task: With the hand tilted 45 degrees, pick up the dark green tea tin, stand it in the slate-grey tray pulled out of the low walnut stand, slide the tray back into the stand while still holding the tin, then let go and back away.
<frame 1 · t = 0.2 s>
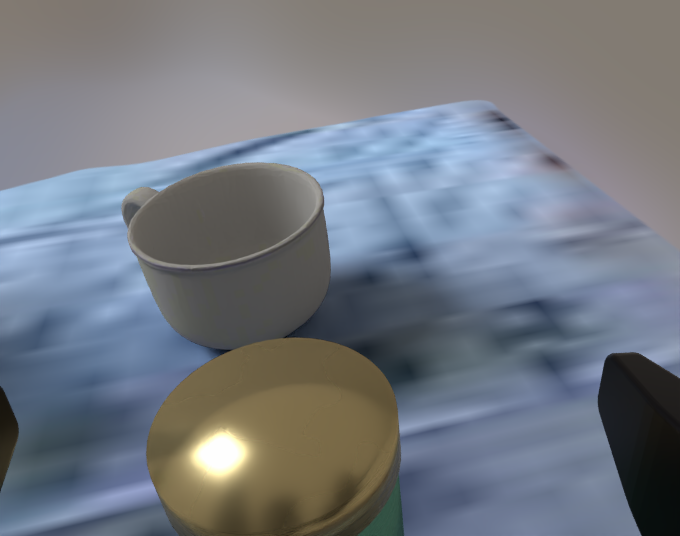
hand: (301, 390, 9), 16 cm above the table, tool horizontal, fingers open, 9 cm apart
teacup: (236, 312, 39), on the table
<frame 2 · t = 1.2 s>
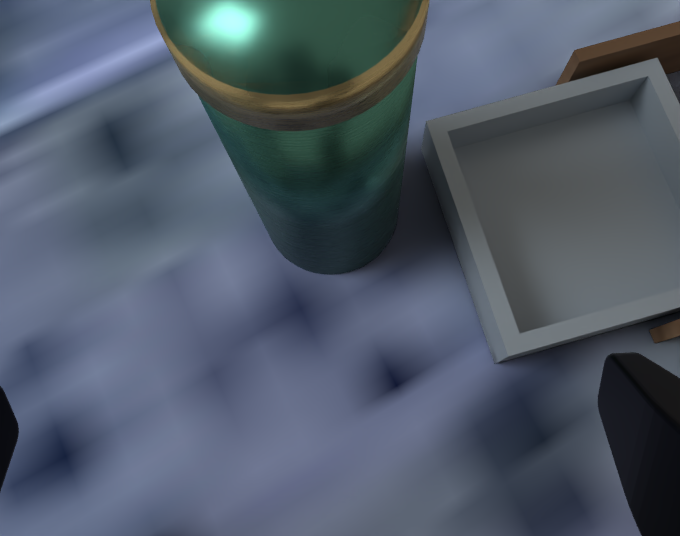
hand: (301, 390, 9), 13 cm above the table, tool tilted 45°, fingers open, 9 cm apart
tea tin: (331, 210, 24), on the table
tray: (576, 209, 23), point 1 cm above the table, slide at 6.0 cm
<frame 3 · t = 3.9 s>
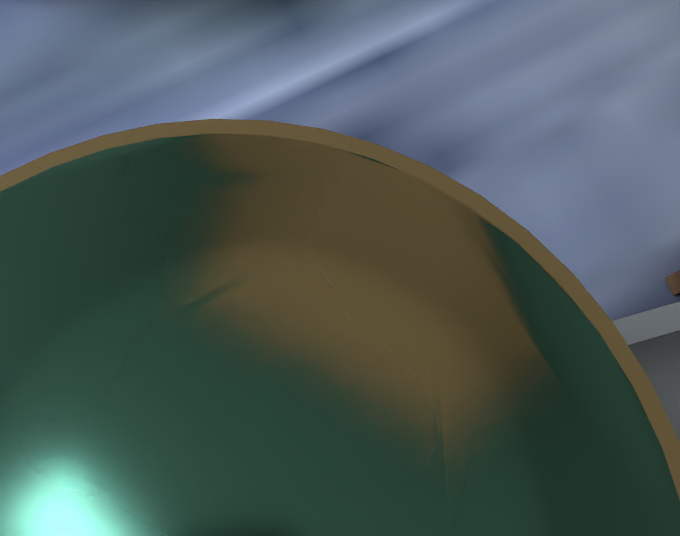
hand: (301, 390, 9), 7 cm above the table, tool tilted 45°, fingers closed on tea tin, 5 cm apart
tea tin: (331, 465, 16), on the table, touching gripper
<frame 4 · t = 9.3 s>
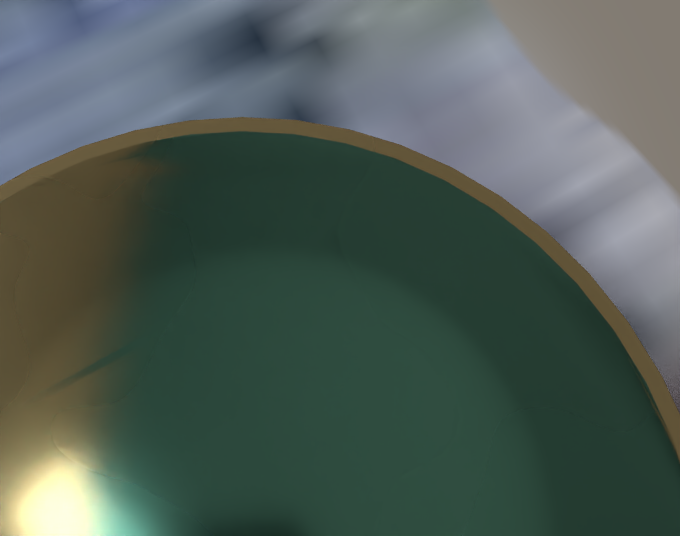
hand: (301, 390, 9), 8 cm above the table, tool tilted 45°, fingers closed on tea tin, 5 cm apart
tea tin: (324, 467, 16), point 1 cm above the table, touching gripper, tray
when the fingers open (8 cm above the table, at t = 10.3 s): tea tin stays where it is, resting on tray.
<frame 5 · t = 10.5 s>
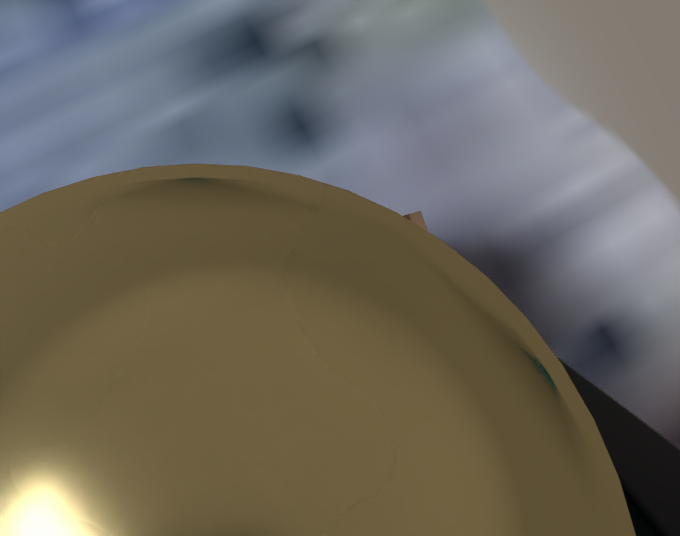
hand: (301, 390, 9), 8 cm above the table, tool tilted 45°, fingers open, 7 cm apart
tea tin: (322, 469, 16), point 1 cm above the table, touching tray
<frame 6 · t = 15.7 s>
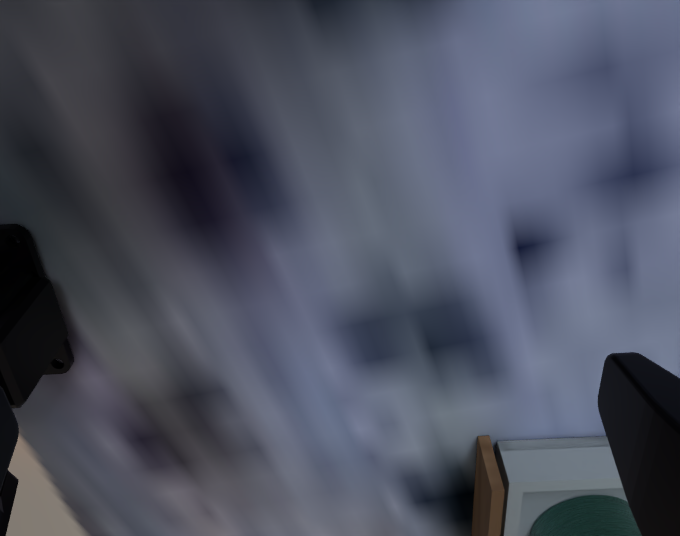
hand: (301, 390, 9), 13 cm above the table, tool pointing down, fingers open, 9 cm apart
walnut stand: (584, 502, 30), on the table
tea tin: (585, 531, 30), point 1 cm above the table, touching tray
tray: (593, 524, 29), point 1 cm above the table, slide at 0.0 cm, touching tea tin
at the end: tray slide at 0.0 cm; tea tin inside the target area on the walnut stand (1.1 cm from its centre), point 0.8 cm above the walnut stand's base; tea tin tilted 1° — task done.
